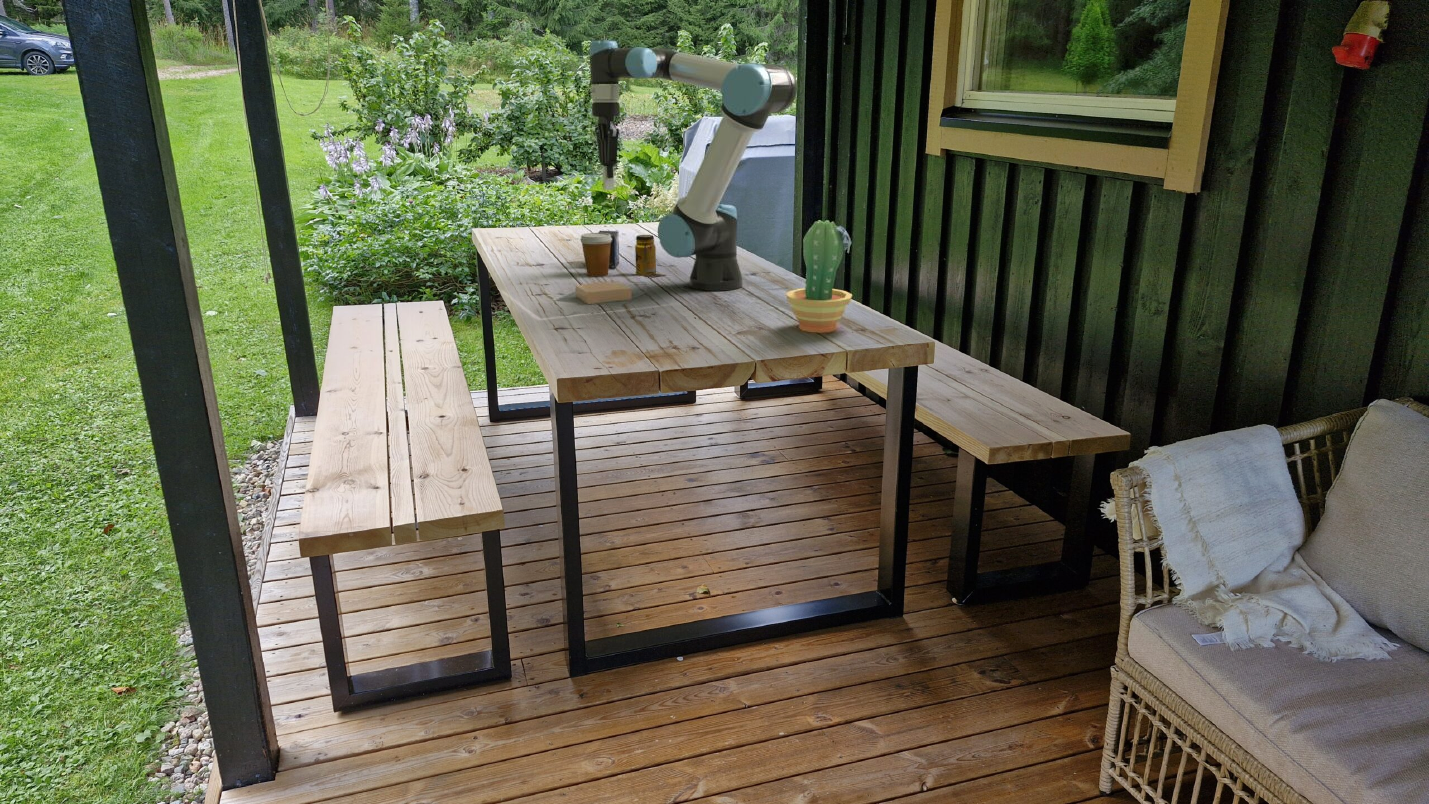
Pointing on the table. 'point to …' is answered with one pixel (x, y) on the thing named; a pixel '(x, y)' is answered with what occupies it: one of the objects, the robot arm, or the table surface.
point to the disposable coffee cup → (596, 253)
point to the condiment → (646, 256)
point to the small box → (613, 249)
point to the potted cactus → (821, 279)
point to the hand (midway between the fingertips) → (609, 189)
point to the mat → (573, 298)
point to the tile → (603, 292)
